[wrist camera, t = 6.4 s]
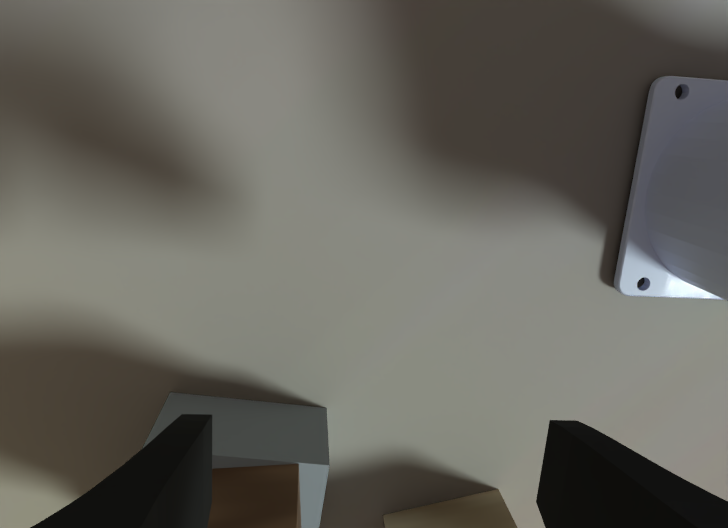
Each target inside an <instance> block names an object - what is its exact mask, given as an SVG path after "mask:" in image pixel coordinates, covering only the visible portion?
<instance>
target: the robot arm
mask: <svg viewBox="0 0 728 528" xmlns="http://www.w3.org/2000/svg"><path fill="white" fill-rule="evenodd" d="M679 85H680V86H681V88H682V94H681V97H679V98H678V99H677V98H676V96H675V90H676V88H677V87H678V86H679ZM641 278H644V284H643V285H642V286H641V287H638V288H637V283H638V281H639V280H640V279H641ZM614 286H615V288H616V290H617V291H619V292H620V293H622V294H623V295H627V296H647V297H671V298H695V299H720V300H727V301H728V80H716V79H704V78H692V77H680V76H664V77H659V78H658V79H656V80H655V81H654V82H653V83H652V84H651V87H650V90H649V95H648V100H647V106H646V111H645V116H644V122H643V127H642V132H641V138H640V143H639V149H638V154H637V159H636V165H635V170H634V175H633V181H632V186H631V192H630V197H629V202H628V208H627V213H626V218H625V224H624V229H623V235H622V240H621V245H620V251H619V256H618V261H617V267H616V272H615V278H614ZM536 502H537V505H538V508H539V511H540V513H541V516H542V519H543V522H544V524H545V527H546V528H728V501H725V500H723V499H721V498H719V497H717V496H715V495H713V494H711V493H709V492H707V491H705V490H704V489H702V488H700V487H698V486H696V485H694V484H692V483H690V482H688V481H686V480H684V479H682V478H681V477H679V476H677V475H675V474H673V473H671V472H670V471H668V470H666V469H664V468H662V467H661V466H659V465H657V464H655V463H654V462H652V461H650V460H648V459H647V458H645V457H643V456H641V455H640V454H638V453H636V452H634V451H633V450H631V449H629V448H627V447H626V446H624V445H622V444H621V443H619V442H617V441H615V440H614V439H612V438H610V437H608V436H606V435H605V434H603V433H601V432H599V431H597V430H595V429H593V428H592V427H590V426H588V425H585V424H583V423H581V422H579V421H562V420H550V423H549V429H548V435H547V441H546V447H545V453H544V459H543V464H542V470H541V476H540V482H539V488H538V494H537V500H536ZM211 504H212V415H210V414H181V415H180V416H179V417H178V418H177V419H176V420H174V421H173V422H172V423H171V424H170V425H169V426H168V427H166V428H165V429H164V430H163V431H162V432H161V433H160V434H159V435H157V436H156V437H155V438H154V439H153V440H152V441H151V442H150V443H148V444H147V445H146V446H145V447H144V448H143V449H142V450H140V451H139V452H138V453H137V454H136V455H134V456H133V457H132V458H131V459H130V460H129V461H127V462H126V463H125V464H124V465H123V466H121V467H120V468H119V469H117V470H116V471H115V472H113V473H112V474H111V475H109V476H108V477H107V478H105V479H104V480H103V481H101V482H100V483H99V484H98V485H96V486H95V487H94V488H92V489H91V490H90V491H88V492H87V493H85V494H84V495H82V496H81V497H79V498H78V499H76V500H75V501H73V502H72V503H70V504H69V505H67V506H66V507H64V508H62V509H61V510H59V511H58V512H56V513H54V514H53V515H51V516H50V517H48V518H46V519H45V520H43V521H41V522H40V523H38V524H36V525H34V526H33V527H31V528H207V526H208V521H209V515H210V510H211Z"/></svg>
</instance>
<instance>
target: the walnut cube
mask: <svg viewBox="0 0 728 528" xmlns="http://www.w3.org/2000/svg"><path fill="white" fill-rule="evenodd" d="M207 528H301V505H300V480H299V464H285V465H267V466H250V467H233V468H215V469H212V504H211V510H210V515H209V521H208V526H207Z"/></svg>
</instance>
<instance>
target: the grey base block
mask: <svg viewBox="0 0 728 528" xmlns="http://www.w3.org/2000/svg"><path fill="white" fill-rule="evenodd" d="M181 414H210V415H212V469H215V468H233V467H250V466H267V465H285V464H299V480H300V505H301V528H319V526H320V520H321V513H322V507H323V501H324V495H325V489H326V483H327V477H328V471H329V447H328V427H327V408H322V407H312V406H302V405H292V404H283V403H273V402H263V401H253V400H243V399H233V398H223V397H213V396H204V395H194V394H184V393H174V392H170V394H169V396H168V398H167V400H166V402H165V404H164V406H163V408H162V410H161V412H160V414H159V416H158V418H157V420H156V422H155V424H154V426H153V428H152V430H151V432H150V434H149V436H148V438H147V440H146V442H145V444H144V446H143V448H144V447H145V446H146V445H147V444H148V443H150V442H151V441H152V440H153V439H154V438H155V437H156V436H157V435H159V434H160V433H161V432H162V431H163V430H164V429H165V428H166V427H168V426H169V425H170V424H171V423H172V422H173V421H174V420H176V419H177V418H178V417H179V416H180V415H181ZM143 448H142V449H143Z"/></svg>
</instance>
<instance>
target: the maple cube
mask: <svg viewBox="0 0 728 528" xmlns="http://www.w3.org/2000/svg"><path fill="white" fill-rule="evenodd" d="M383 519H384V525H385V528H517V526H516V524H515V522H514V520H513V518H512V516H511V514H510V512H509V510H508V508H507V506H506V504H505V502H504V500H503V498H502V496H501V494H500V492H499V490H498V489H496V490H491V491H487V492H483V493H478V494H474V495H469V496H465V497H460V498H456V499H452V500H447V501H443V502H438V503H434V504H430V505H425V506H421V507H416V508H412V509H408V510H403V511H399V512H394V513H390V514H386V515H383Z"/></svg>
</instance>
